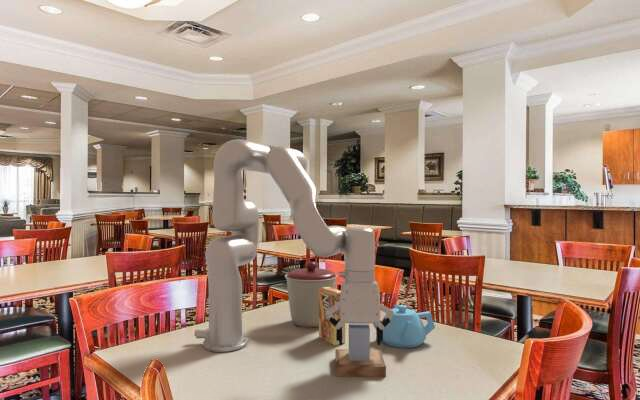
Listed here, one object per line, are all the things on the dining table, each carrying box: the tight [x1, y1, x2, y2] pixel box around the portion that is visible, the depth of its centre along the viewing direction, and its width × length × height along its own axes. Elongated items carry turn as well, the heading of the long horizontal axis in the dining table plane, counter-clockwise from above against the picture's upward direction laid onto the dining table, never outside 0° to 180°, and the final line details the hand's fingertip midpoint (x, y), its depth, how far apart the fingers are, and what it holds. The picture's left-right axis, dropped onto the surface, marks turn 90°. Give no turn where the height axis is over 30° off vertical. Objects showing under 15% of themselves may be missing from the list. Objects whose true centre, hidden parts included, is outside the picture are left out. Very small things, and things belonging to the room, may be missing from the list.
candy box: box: [318, 287, 346, 346], centre depth 127 cm, size 9×4×15 cm, turn 33°
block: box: [348, 323, 371, 361], centre depth 106 cm, size 5×5×8 cm
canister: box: [284, 261, 339, 328], centre depth 144 cm, size 18×18×21 cm
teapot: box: [372, 304, 436, 349], centre depth 126 cm, size 15×15×11 cm
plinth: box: [334, 348, 387, 378], centre depth 106 cm, size 12×11×3 cm
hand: (359, 343), depth 106 cm, fingers open, 9 cm apart
